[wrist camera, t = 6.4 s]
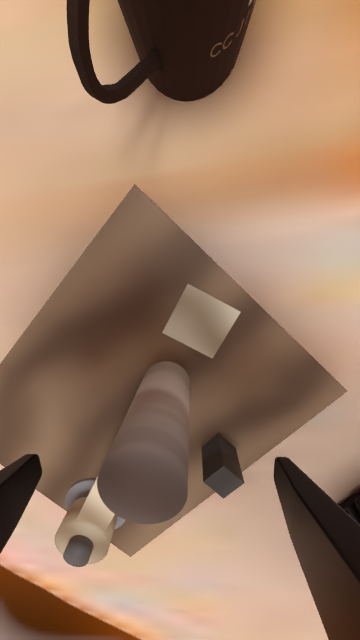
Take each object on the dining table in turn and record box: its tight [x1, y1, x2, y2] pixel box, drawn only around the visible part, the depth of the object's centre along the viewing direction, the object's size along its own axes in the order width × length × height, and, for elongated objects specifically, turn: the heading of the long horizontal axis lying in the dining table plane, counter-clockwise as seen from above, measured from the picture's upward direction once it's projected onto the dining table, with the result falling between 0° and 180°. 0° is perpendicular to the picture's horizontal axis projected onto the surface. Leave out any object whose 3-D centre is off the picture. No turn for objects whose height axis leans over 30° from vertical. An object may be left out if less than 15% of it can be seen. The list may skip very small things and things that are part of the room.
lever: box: [55, 361, 190, 567], centre depth 13 cm, size 20×4×8 cm, turn 154°
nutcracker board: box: [0, 185, 347, 557], centre depth 17 cm, size 21×26×4 cm
